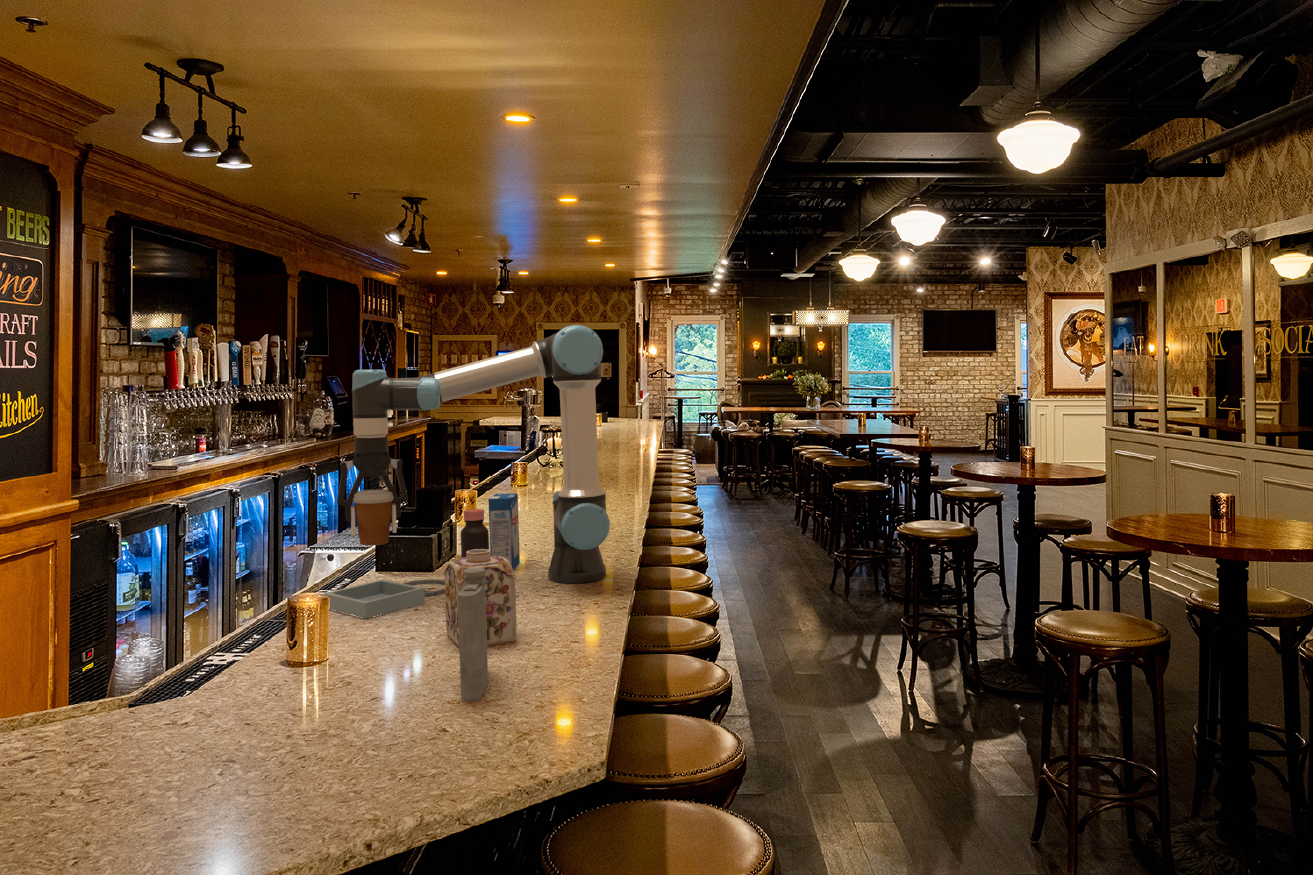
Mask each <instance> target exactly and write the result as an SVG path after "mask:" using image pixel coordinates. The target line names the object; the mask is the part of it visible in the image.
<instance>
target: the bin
mask: <svg viewBox="0 0 1313 875" xmlns="http://www.w3.org/2000/svg"><path fill="white" fill-rule="evenodd" d="M403 583H404V582H396V581H391V580H387V579H384V578H383V579H378V580H374V581H370V582H366V583H362V584H359V585H358V584H357V585H353V586H350V587H345V588H344V587H343V588H341V589H336V590H332V591H327V592H324V593H323V596H324V595H328V596H329V598H330V610H329V611H331V612H333V611H332V609H333V610H336V611H340V612H344V613H347V614H353V615H356V616H359V617H362V618H365V619H364V620H367V619H366V618H369V619H371V618H370V617H373V616H376V617H378V616H377V615H380V614H384V615H388V614H390V612H391V613H394V612H398V611H401V610H400V609H402V610H404V609H403V608H405V609H408V608H407V607H409V608H412V607H413V608H414V607H417V606H420V605H422V604H423V605H424V604H425V603H426V602H425V601H426V598H425V597H426V596H425V593H424V592H425V588H424V587H422V586H421V587H420V586H416V585H407V584H403ZM397 610H398V611H397ZM393 611H394V612H393ZM380 616H381V615H380ZM362 618H361V619H362ZM373 618H374V617H373Z"/></svg>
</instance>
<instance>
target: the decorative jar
mask: <svg viewBox="0 0 1313 875" xmlns="http://www.w3.org/2000/svg"><path fill="white" fill-rule="evenodd" d="M470 568H483V569H485V575H483V576H484V578H485V602H486V632H487V647H489V646H494V645H500V644H506V643H507V644H508V643H512V642H516V640H517V598H516V597H517V594H516V590H517V589H516V577H515V576H516V575H515V570H514V571H513V569H512V567H511V564H510V562H509V560H507V559H506V558H504V557H499V556H490V549H489V550H487V549H475V550H469V551H467V552H466V557H463V558H461V557H460V558H457V559H456V558H455V559H453V560H451V561H449V562H448V564H447V565H446V567H445V571H444V572H443V573H444V580H445V585H444V588H445V593H444V598H445V601H444V603H445V625H446V626H445V627H446V634H447V636H448V637H449V638H450V639H451V640H452V641H453V642H454V643H455V645H456V646H457V647H458V648H459V624H458V597H457V594H458V593H459V592H460V591H461V590H462V589H463V588H464V586H465V576H464V570H466V569H470Z"/></svg>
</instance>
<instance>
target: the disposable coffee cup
mask: <svg viewBox="0 0 1313 875" xmlns="http://www.w3.org/2000/svg"><path fill="white" fill-rule="evenodd" d="M393 498H394V497H393V494H392V492H389V490H388V489H365V490H358V491H357V494H355V495H354V499H353V502H352V503H353V506H354V507H355V522H356V526H357V531H358V532H357V533H358V540H359V545H362V546H380V545H381V546H382V545H385V544H388V543H389V538H390V529H391V528H390V527H391V522H392V504H393V502H394V500H393Z"/></svg>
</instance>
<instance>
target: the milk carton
mask: <svg viewBox="0 0 1313 875" xmlns="http://www.w3.org/2000/svg"><path fill="white" fill-rule="evenodd" d="M487 499H488V525H489V529H488V530H489V551H490V556H499V557H504V558H506V559H507V560H509V562H510V564H511V567H512V569H513V571H514V572H515V570H516V568H517V567H518V566H519V565H520V563H521V561H520V560H521V558H520V556H521V554H520V552H521V551H520V533H519V532H520V528H519V495H518V493H514V492H513V493H495V494H493V495H492V496H490V497H489V498H487Z"/></svg>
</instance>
